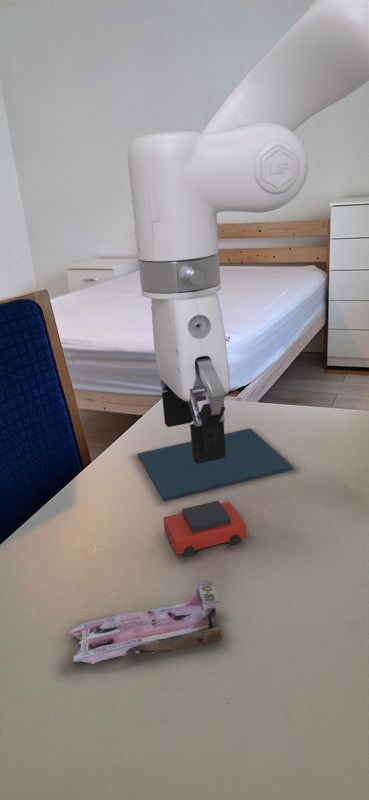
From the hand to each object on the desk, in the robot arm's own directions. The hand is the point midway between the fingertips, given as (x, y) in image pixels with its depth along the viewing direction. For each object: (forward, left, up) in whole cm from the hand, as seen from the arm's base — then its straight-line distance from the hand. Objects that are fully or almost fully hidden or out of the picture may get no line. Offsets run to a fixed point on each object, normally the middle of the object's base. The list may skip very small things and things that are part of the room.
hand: (193, 440), depth 62 cm
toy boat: (+10, +12, -12) cm, 20 cm away
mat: (-7, -17, -12) cm, 22 cm away
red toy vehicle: (0, +2, -11) cm, 11 cm away
